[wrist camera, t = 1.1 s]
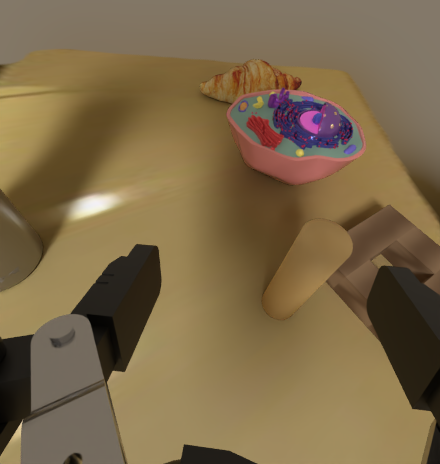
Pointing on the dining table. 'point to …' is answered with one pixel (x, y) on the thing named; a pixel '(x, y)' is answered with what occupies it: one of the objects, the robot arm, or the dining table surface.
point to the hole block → (393, 249)
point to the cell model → (294, 135)
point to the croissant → (248, 81)
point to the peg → (306, 266)
